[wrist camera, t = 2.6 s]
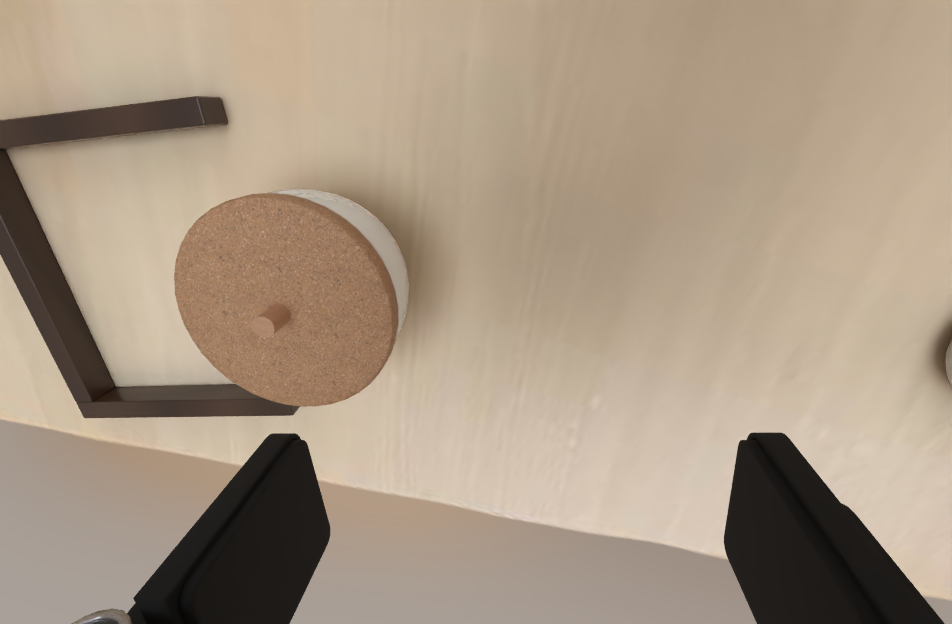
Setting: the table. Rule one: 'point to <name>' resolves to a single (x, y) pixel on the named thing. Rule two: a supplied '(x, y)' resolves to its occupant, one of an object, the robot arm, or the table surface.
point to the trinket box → (293, 294)
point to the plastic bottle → (949, 362)
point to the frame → (47, 294)
